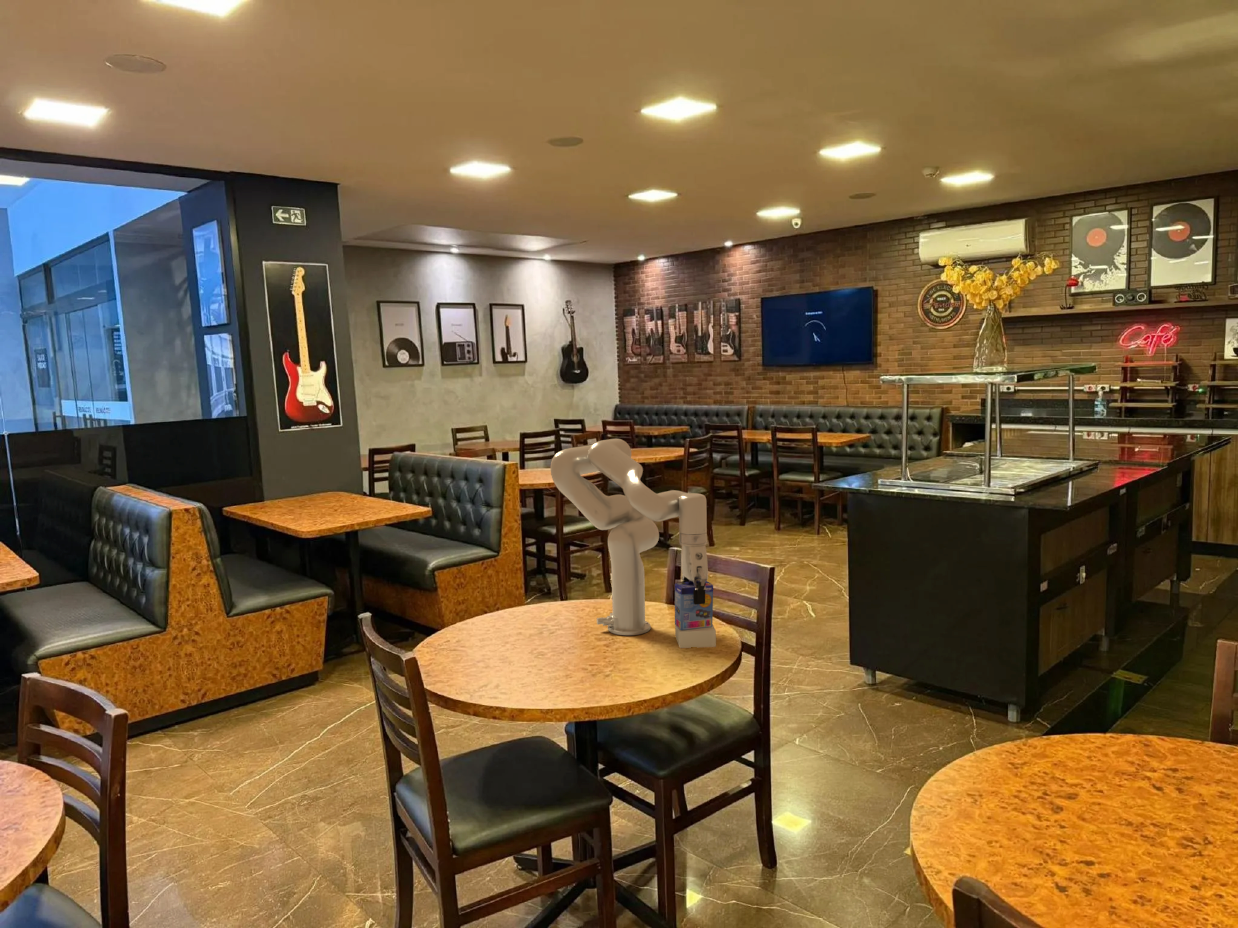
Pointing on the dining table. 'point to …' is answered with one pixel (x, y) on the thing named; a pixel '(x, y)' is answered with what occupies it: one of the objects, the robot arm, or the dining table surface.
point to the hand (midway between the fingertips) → (693, 599)
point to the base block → (696, 637)
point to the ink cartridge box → (692, 607)
